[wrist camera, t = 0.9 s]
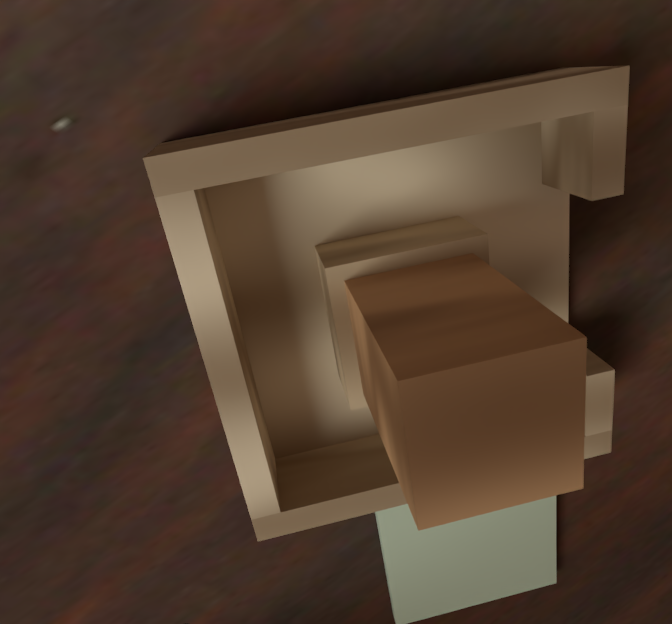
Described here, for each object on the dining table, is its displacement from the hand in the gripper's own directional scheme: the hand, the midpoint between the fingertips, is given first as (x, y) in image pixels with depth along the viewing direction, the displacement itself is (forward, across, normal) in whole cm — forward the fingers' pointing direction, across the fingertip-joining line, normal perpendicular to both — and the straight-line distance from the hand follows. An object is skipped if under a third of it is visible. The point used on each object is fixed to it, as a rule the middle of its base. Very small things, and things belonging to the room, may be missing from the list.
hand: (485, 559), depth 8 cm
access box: (+12, -2, +1) cm, 13 cm away
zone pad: (+12, -3, +13) cm, 18 cm away
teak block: (+9, -2, +1) cm, 10 cm away
